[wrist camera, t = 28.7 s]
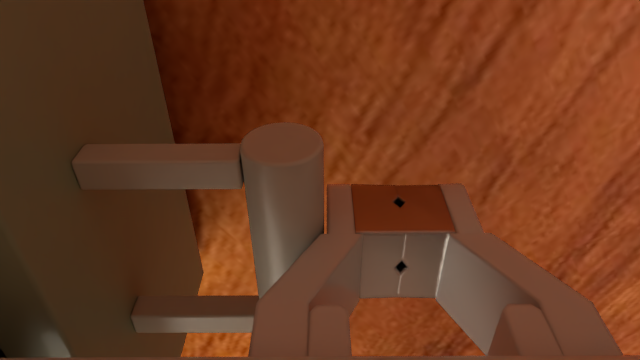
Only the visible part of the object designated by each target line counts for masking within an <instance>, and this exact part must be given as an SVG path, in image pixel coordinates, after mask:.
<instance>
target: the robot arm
mask: <svg viewBox="0 0 640 360" xmlns="http://www.w3.org/2000/svg"><path fill="white" fill-rule="evenodd" d="M387 297H410V298H436V301H437V302H438V303H439V304H440V305H441V306H442V307H443V309H444V310H445V311H446V312H447V313H448V314H449V315H450V316H451V317H452V319H453V320H454V321H455V322H456V323H457V324H458V325H459V326H460V327H461V328H462V330H463V331H464V332H465V333H466V334H467V335H468V336H469V337H470V338H471V340H472V341H473V342H474V343H475V344H476V345H477V346H478V347H479V348H480V350H481V351H482V352H483V353H484V354H485V355H486V356H352V354H351V340H350V326H349V317H350V315H351V313H352V312H353V310H354V308H355V307H356V305H357V303H358V302H359V298H387ZM0 360H640V355H623V354H622V352H621V350H620V349H619V347H618V345H617V344H616V342H615V340H614V339H613V337H612V335H611V333H610V332H609V330H608V328H607V327H606V325H605V323H604V321H603V320H602V318H601V316H600V315H599V313H598V311H597V309H596V308H595V306H594V304H593V303H592V302H591V301H590V300H588V299H587V298H585V297H584V296H582V295H581V294H579V293H578V292H577V291H575V290H574V289H572V288H571V287H569V286H568V285H566V284H565V283H563V282H562V281H561V280H559V279H558V278H556V277H555V276H553V275H552V274H550V273H549V272H547V271H546V270H544V269H543V268H542V267H540V266H539V265H537V264H536V263H534V262H533V261H531V260H530V259H528V258H527V257H526V256H524V255H523V254H521V253H520V252H518V251H517V250H515V249H514V248H512V247H511V246H509V245H508V244H507V243H505V242H504V241H502V240H501V239H499V238H498V237H496V236H495V235H493V234H492V233H484V231H483V229H482V226H481V224H480V222H479V219H478V217H477V215H476V212H475V210H474V208H473V205H472V203H471V200H470V198H469V196H468V193H467V191H466V189H465V186H464V185H463V184H461V183H455V184H438V185H367V184H351V186H350V185H349V184H327V234H320V235H319V236H318V237H317V238H316V240H315V241H314V242H313V243H312V244H311V245H310V246H309V247H308V248H307V249H306V250H305V251H304V252H303V253H302V255H301V256H300V257H299V258H298V259H297V260H296V261H295V262H294V263H293V264H292V265H291V266H290V267H289V268H288V270H287V271H286V272H285V273H284V274H283V275H282V276H281V277H280V278H279V279H278V280H277V281H276V282H275V283H274V285H273V286H272V287H271V288H270V289H269V290H268V291H267V292H266V293H265V294H264V295H263V296H262V297H261V298H260V300H259V301H258V302H257V303H256V308H255V315H254V322H253V329H252V336H251V342H250V349H249V356H248V357H54V358H0Z"/></svg>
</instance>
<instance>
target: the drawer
mask: <svg viewBox="0 0 640 360" xmlns="http://www.w3.org/2000/svg"><path fill="white" fill-rule="evenodd" d="M243 182H244V185H245V192H246V200H247V208H248V216H249V224H250V232H251V240H252V247H253V255H254V263H255V271H256V279H257V287H258V295H259V296H197V295H198V291H199V287H200V284H201V280H202V276H203V273H204V272H203V268H202V263H201V259H200V254H199V250H198V245H197V241H196V236H195V232H194V227H193V223H192V218H191V214H190V209H189V205H188V200H187V196H186V191H185V189H241V188H242V186H243ZM320 234H324V144H323V140H322V138H321V136H320V134H319V133H318V132H317V131H315V130H314V129H312V128H310V127H308V126H305V125H302V124H298V123H289V122H281V123H272V124H267V125H263V126H260V127H258V128H255V129H253V130H252V131H250V132H249V133H247V134H246V135H245V136H244V138H243V139H242V142H241V143H224V144H175V141H174V137H173V132H172V128H171V123H170V119H169V114H168V110H167V105H166V101H165V96H164V92H163V87H162V83H161V78H160V74H159V69H158V65H157V60H156V56H155V51H154V47H153V42H152V38H151V33H150V29H149V24H148V20H147V15H146V11H145V6H144V1H143V0H0V358H54V357H181V353H182V349H183V346H184V342H185V338H186V335H187V333H252V329H253V322H254V315H255V308H256V303H257V302H258V301H259V300H260V298H261V297H262V296H263V295H264V294H265V293H266V292H267V291H268V290H269V289H270V288H271V287H272V286H273V285H274V283H275V282H276V281H277V280H278V279H279V278H280V277H281V276H282V275H283V274H284V273H285V272H286V271H287V270H288V268H289V267H290V266H291V265H292V264H293V263H294V262H295V261H296V260H297V259H298V258H299V257H300V256H301V255H302V253H303V252H304V251H305V250H306V249H307V248H308V247H309V246H310V245H311V244H312V243H313V242H314V241H315V240H316V238H317V237H318V236H319V235H320Z"/></svg>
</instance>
